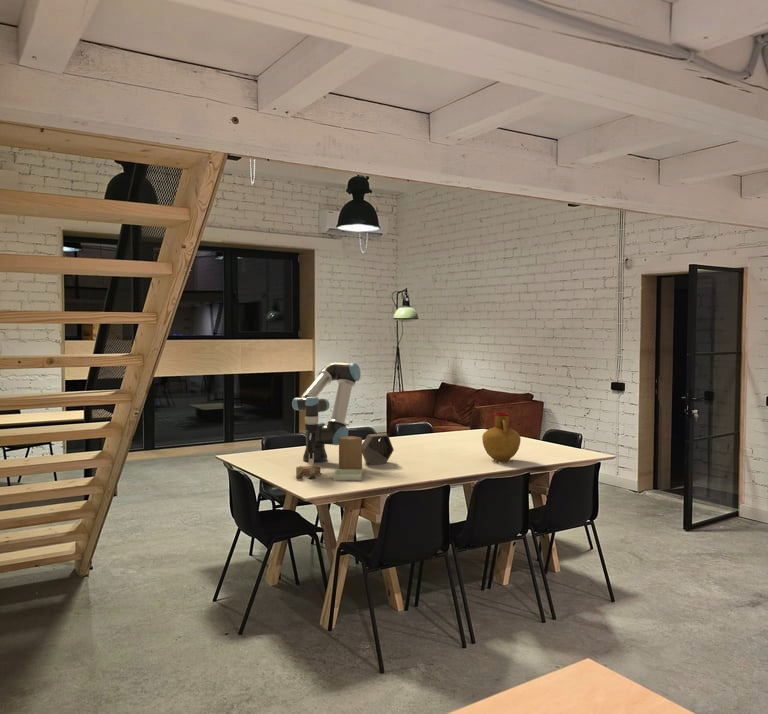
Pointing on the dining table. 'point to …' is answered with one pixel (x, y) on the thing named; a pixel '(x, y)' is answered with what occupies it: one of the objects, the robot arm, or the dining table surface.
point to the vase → (501, 439)
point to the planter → (377, 449)
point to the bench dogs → (300, 472)
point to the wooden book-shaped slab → (306, 470)
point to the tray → (348, 474)
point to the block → (350, 453)
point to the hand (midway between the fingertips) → (311, 463)
